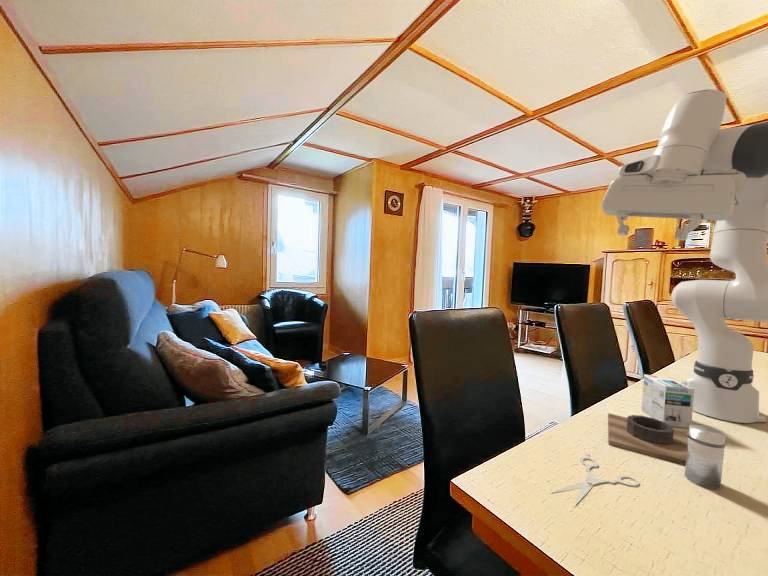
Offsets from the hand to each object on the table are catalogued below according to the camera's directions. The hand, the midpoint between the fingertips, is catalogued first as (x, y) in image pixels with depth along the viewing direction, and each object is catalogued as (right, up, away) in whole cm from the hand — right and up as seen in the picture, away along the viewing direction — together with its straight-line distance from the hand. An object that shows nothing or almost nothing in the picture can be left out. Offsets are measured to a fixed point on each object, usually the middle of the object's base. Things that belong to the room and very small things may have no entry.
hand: (649, 236), depth 65 cm
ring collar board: (+11, -47, +14) cm, 50 cm away
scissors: (-14, -48, -3) cm, 50 cm away
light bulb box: (+25, -47, +26) cm, 59 cm away
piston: (+9, -48, -2) cm, 49 cm away
